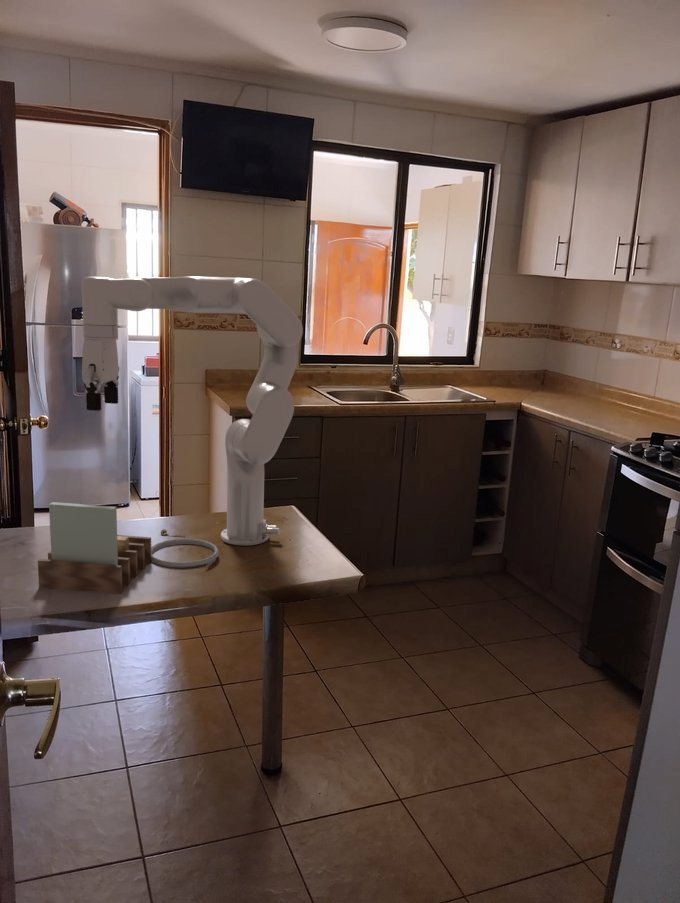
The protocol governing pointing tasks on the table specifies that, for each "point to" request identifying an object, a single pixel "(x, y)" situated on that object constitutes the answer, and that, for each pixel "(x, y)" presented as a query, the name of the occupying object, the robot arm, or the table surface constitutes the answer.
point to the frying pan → (183, 541)
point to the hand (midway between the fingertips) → (102, 406)
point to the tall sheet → (83, 533)
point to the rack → (97, 570)
